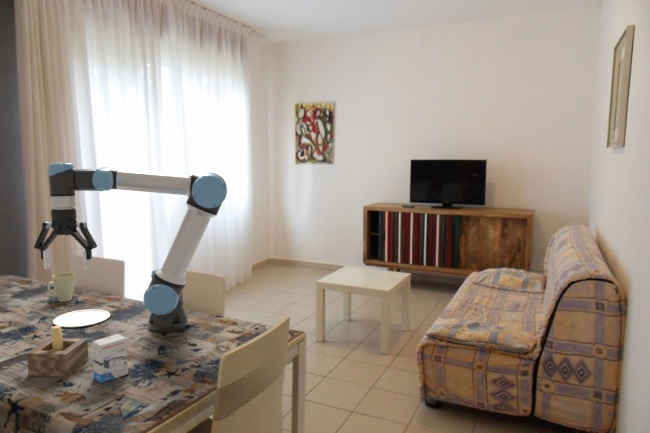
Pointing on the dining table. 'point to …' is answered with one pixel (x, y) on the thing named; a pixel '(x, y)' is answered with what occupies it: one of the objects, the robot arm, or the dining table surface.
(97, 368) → the ink box
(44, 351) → the bore block
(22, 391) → the dining table surface
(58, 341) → the pin
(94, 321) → the plate
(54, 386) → the dining table surface
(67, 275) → the mug
